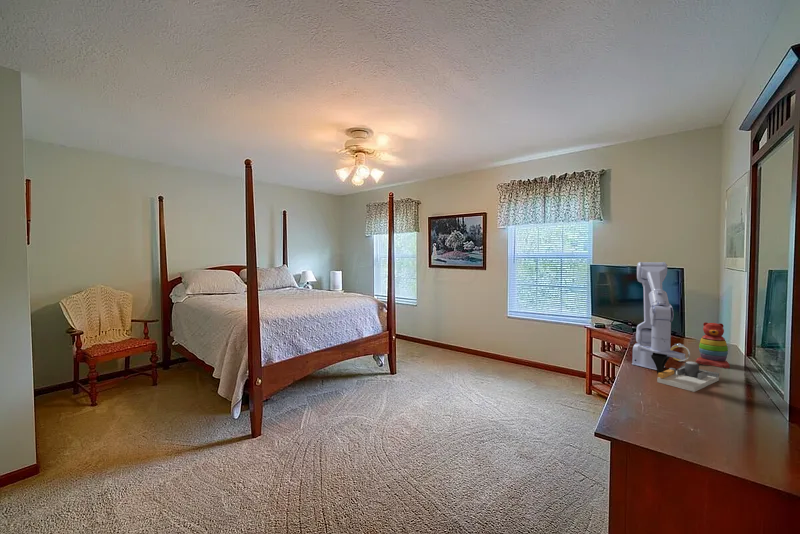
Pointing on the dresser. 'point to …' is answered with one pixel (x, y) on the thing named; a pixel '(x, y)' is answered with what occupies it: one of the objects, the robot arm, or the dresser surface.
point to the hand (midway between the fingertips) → (660, 374)
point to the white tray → (690, 379)
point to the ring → (682, 347)
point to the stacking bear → (713, 346)
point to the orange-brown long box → (667, 373)
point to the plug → (691, 369)
